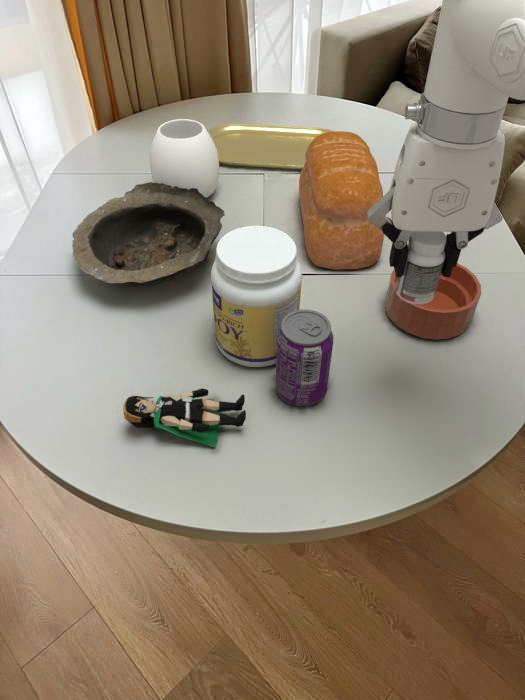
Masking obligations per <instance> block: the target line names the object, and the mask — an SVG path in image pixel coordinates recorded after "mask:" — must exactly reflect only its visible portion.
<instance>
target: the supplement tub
mask: <svg viewBox="0 0 525 700" xmlns="http://www.w3.org/2000/svg"><path fill="white" fill-rule="evenodd" d="M215 251H216V254H215V260H214V262H213V264H212V267H211V271H210V282H211V294H212V295H211V296H212V297H211V298H212V309H213V325H214V339H215V344H216V346H217V348H218V349H219V352H220V353H221V354H222V355H223V356H224V357H226V359H228V360H229V361H231V362H233V363H235V364H238V365H240V366H244V367H248V368H264V367H269V366H272V365H276V352H277V333H278V330H279V328H280V327H281V323H282V320H283V319H284V317H285V316H286V315H287V314H289V313H291V312H293V311H296V310H301V309H300V308H301V294H302V283H303V272H302V271H303V270H302V267H301V264H300V262H299V260H298V254H297V245H296V243H295V241H294V239H293V238H292V237H291V236H290V235H288V234H287V233H285V232H284V231H282V230H280V229H277V228H275V227H270V226H265V225H248V226H241V227H238V228H235V229H233V230H230V231H229V232H226V233H225V234H224V235H222V237H221V238H220V239H219V241H217V244H216V249H215Z"/></svg>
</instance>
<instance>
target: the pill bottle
mask: <svg viewBox="0 0 525 700" xmlns="http://www.w3.org/2000/svg"><path fill="white" fill-rule="evenodd" d="M446 235H447V234H445V232H416V231H413V232H412V234H411V236H410V238H409V240H408V241H407V246H408V249H409V253H408V257H407V261H406V266H405V270H404V274H403V276H402V277H398V279H397V284H396V293H397V295H398V296H399V297H400V298H401V299H402V300H403V301H405V302H407V303H411V304H425V303H428V302H430V301H431V300H432V299H433V298H434V295H435V292H436V288H437V285H438V281H439V278H440V274H441V271H442V267H443V264H444V261H445V251H444V247H445V243H446Z"/></svg>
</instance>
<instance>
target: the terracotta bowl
mask: <svg viewBox="0 0 525 700" xmlns="http://www.w3.org/2000/svg"><path fill="white" fill-rule="evenodd" d="M397 279H398V277H396V274H395V270H394V269H393V270H392V271H391V273H390V279H389V283H388V287H387V291H386V292H387V293H386V297H385V304H384V308H385V311H386V314H387V316H388V318H389V319H390V320H391V321H392V322H393V324H394V325H395V326H396V327H398V328H399V329H401V330H403V332H406V333H408V334H411V335H413V336H416V337H418V338H422V339H428V340H433V341H434V340H446V339H451V338H454V337H457V336H459V335H461V334H462V333H464V332H465V331H466V330H467V329H468V328H469V327H470V324H471V322H472V321H473V317H474V315H475V312H476V309H477V307H478V305H479V302H480V299H481V296H482V284H481V282H480V281H479V279H478V278H477V275H476V274H475V273H473V272H472V271H471V270H470V269H469V268H468V267H465V266H464V265H462V264H460V263H458V262H457V265H456V267H453V268H452V271H451V275H450V277H444V276H443V275H442V272H441V274H440V278H439V281H438V285H437V288H436V292H435V295H434V298H433V299H432V300H431V301H430V302H428V303H425V304H411V303H407V302H405V301H403V300H402V299H401V298H400V297H399V296H398V295H397V293H396V284H397Z"/></svg>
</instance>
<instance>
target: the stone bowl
mask: <svg viewBox="0 0 525 700" xmlns="http://www.w3.org/2000/svg"><path fill="white" fill-rule="evenodd" d="M209 199H210V198H209V197H204V196H203V195H202V194H201V193H199V191H198V189H196V188H191V189H189V190H188V189H187V188H178V187H177V186H174V187H172V186H170V185H166V184H163V183H161V184H159V183H154V182H153V181H152V182H147V183H146V182H145V183H138V184H135V186H134V187H133V188H132V189H130V190H127V191H126V192H125V193H124V196H121V197H114V198H111V199H109V200H107V201H106V202H105V203H104V204H101V206H99V207H97V208H96V209H95V210H94V211H92V212H90V213H88V214H87V215H86V216H85V217H84V219H82V221H81V222H80V223H79V224H78V225H77V227H76V229H74V230H73V232H72V238H73V240H72V244H71V245H72V256H73V257H74V261H75V263H76V265H77V266H78V268H79V269H80V270H81V271H82V272H83V273H86V274H87V275H90V276H91V277H93V278H94V279H97V280H99V281H103V282H104V283H108V284H124V285H126V286H130V287H143V286H150V285H153V284H154V285H155V284H158V283H164V282H167V281H169V280H174V279H175V278H178V277H180V276H181V275H184V274H185V273H187V272H188V271H190V270H192V269H194V268H195V267H197V265H199V264H203V263H205V262H207V261H208V259H209V256H210V255H209V254H210V248H211V247H212V246H213V244H214V242H215V241H216V240H217V238H218V237H219V235H220V232H221V230H222V228H223V224H222V222H221V219H222V218H223V217H224V216H226V214H225V210H224V209H223V208H221V207H219V206H218V205H216V203H215V202H214V201H211V200H209Z"/></svg>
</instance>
